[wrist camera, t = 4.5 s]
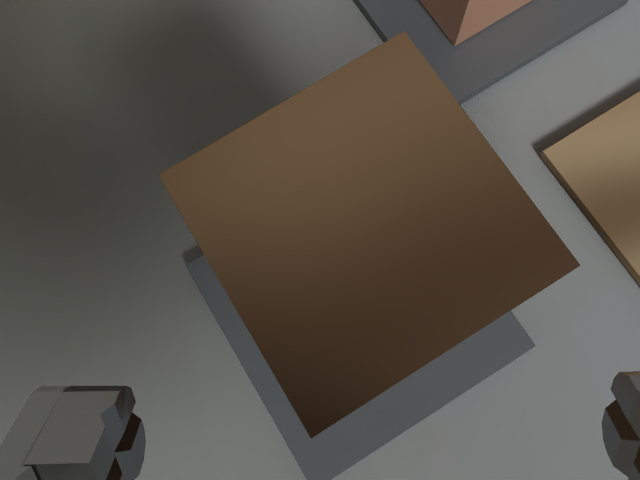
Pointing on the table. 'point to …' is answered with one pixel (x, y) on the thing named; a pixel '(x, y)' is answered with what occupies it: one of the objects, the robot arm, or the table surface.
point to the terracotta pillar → (468, 15)
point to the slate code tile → (382, 411)
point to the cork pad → (606, 177)
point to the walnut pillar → (364, 230)
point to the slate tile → (486, 37)
